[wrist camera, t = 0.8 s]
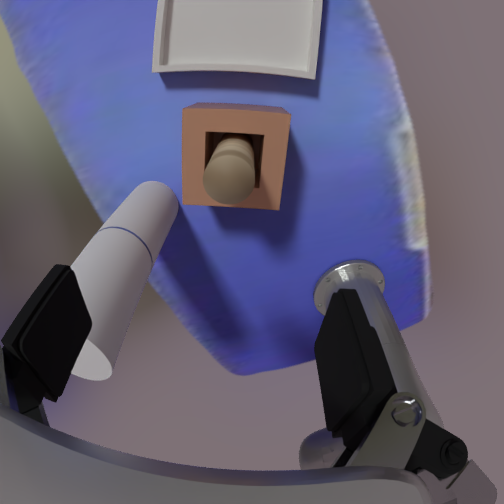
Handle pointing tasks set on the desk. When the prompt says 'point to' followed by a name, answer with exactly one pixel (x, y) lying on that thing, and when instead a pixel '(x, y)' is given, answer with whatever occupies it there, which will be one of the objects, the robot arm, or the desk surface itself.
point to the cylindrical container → (120, 272)
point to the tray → (238, 36)
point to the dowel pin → (231, 169)
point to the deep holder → (236, 121)
